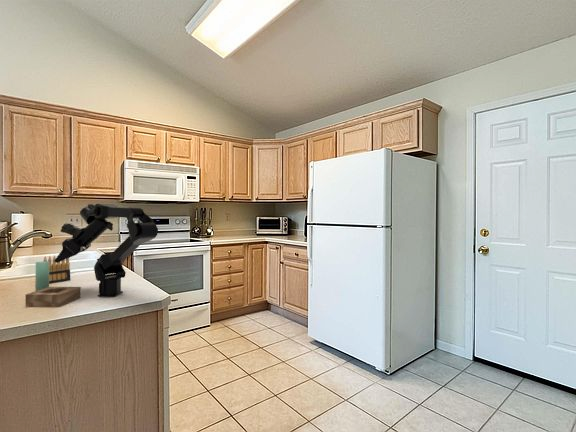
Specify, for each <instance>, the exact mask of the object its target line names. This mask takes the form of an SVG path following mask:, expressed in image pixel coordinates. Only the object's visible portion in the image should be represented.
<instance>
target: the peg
mask: <svg viewBox="0 0 576 432" xmlns="http://www.w3.org/2000/svg"><path fill="white" fill-rule="evenodd" d="M34 286H35V290H34V292H35V291H38V290H41V289H44V288H47V287H50V284H49V262H48V260H47V261H44V260H43V261H37V262H35V285H34Z"/></svg>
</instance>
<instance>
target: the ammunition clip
mask: <svg viewBox="0 0 576 432" xmlns="http://www.w3.org/2000/svg"><path fill="white" fill-rule="evenodd" d="M56 258H57V256H56V255H53V257H51V255H49V256H48V259H47V256H44V257H43V261H48V262H49V285H51V284H56V283H57V284H58V283H65V282H70V281H71V269H70V266H71V265H70V258H67V259H65V260H62V261H60V262H58V263H56V262H55V261H54V260H55V259H56Z"/></svg>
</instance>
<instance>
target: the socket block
mask: <svg viewBox="0 0 576 432" xmlns="http://www.w3.org/2000/svg"><path fill="white" fill-rule="evenodd" d="M80 298H81V286H49V287H47V288H44V289H41V290H38V291H35V290H34V291H32V292H28V293H26V294H25V307H29V308H30V307H34V308H35V307H36V308H37V307H38V308H39V307H41V308H42V307H44V308H54V307H56V308H60V307H62V306H65V305H67V304H69V302H70V303H72V302H75V301H77V300H79V299H80ZM76 299H77V300H76Z"/></svg>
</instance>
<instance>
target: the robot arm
mask: <svg viewBox="0 0 576 432" xmlns="http://www.w3.org/2000/svg"><path fill="white" fill-rule="evenodd" d="M79 216H80V217H81V218H82V219H83V220H84V222H85V223H86V224H87V225H86V226H85V227H81V228H80V227H78V226H75V225H74V224H72V223H64V224H63V225H62V226H61V229H60V230H59V232H60V233H64V234H67V235H70V236H71V237H70V238H65V240H63V241H62V242H61V247H62V250H61V251H60V252H59V253H58V255H57V256H56V259H55V260H54V261H55V262H56V264H57V263H58V262H61V261H62V260H65V261H66V259H67V258H69V259H70V258H72V257H74V256H77V255H78V254H80V253H82V252H85V251H87V250H88V249H89V248H91V246H92V243H93V242H94V241H96V240H97V239H99V237H100V236H102V234H104V232H106V231H107V230H109V231H111V232H112V231H113V230H114V224H113V223H112V222H111V221H108V220H107V219H111V220H112V219H115V218H116V219H117V218H125V219H126V220H127V223H126V228H127V229H128V236H127V237H126V238H125V240H124V241H122V242H121V243H120V245H118V247H116V249H115V250H113V251H112V252H110V253H104V254H100V256H99V258H96V261H95V264H94V267H93V271H94V275H95V276H94V277H95V280H96V282H97V281H98V282H99V283H98V295H97V297H98V298H99V297H101V298H102V297H105V298H106V297H107V298H108V297H110V298H111V297H112V298H113V297H114V298H115V297H117V296H119V295H122V294H123V293H124V291H122V278H123V279H124V278H126V274H127V273H126V271H125V269H124V267H123V262H124V261H125V260H127V258H128V257H129V256H131V254H133V252H134V251H135V250H136V249H137V248H138V247H139V246H141V245H142V244H145V243H147V242H150V241H152V240H154V239H155V238H156V237H157V236H158V234H159V233H158V232H159V228H158V226H157V224H156V223H155V221H154V219H153V217H150V216H149V215H147V214H146V213H145V211H144V210H143V208H141V207H131V206H130V207H120V206H118V205H116V204H113V203H95V204H93V203H90V204H89V203H88V204H87V206H85V207H83V208H82V209H81V210H80V211H79ZM134 219H138V220H139V221H140V222H135V221H134Z"/></svg>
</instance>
